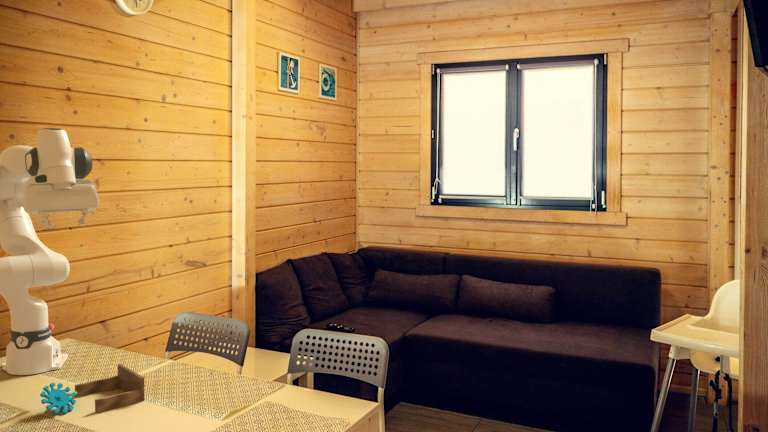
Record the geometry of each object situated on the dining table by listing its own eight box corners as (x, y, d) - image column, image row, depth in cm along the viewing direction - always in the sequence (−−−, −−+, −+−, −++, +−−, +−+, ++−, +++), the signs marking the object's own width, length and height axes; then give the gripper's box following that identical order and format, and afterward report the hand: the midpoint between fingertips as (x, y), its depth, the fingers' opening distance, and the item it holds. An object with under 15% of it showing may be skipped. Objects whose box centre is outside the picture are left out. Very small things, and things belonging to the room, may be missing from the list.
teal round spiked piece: (50, 414, 179) (37, 384, 182) (39, 426, 181) (26, 396, 184) (85, 407, 188) (72, 378, 192) (75, 418, 190) (62, 389, 194)
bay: (96, 412, 185) (95, 388, 184) (74, 396, 197) (74, 373, 196) (144, 400, 195) (144, 377, 194) (121, 385, 207) (120, 363, 206)
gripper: (91, 182, 201) (98, 226, 199) (18, 184, 187) (24, 230, 185) (99, 176, 197) (105, 221, 195) (24, 177, 183) (31, 225, 181)
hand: (65, 226), depth 190 cm, fingers open, 8 cm apart
